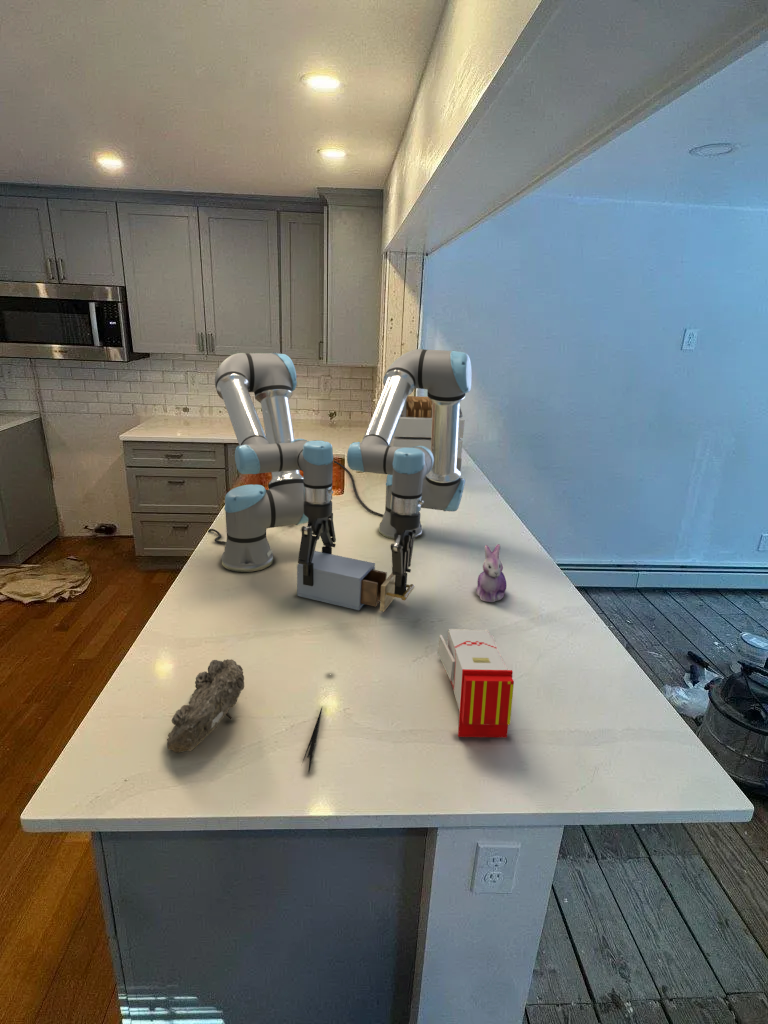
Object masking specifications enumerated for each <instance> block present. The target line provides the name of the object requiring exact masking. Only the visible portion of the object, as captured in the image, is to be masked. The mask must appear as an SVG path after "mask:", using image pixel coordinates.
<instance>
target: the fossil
mask: <svg viewBox="0 0 768 1024" xmlns="http://www.w3.org/2000/svg"><path fill="white" fill-rule="evenodd" d="M243 670H244V669H243V667H242V665H240V664H237V662H236V661H235V660H234V659H232V658H231V659H227V658H226V659H224V660H223V661H222V660H217V659H212V660H211V661H210V663H209V665H208V666H207V671H201V672H199V673H198V674H197V675H196V676H195V680H194V684H195V685H194V687H195V689H194V690H193V693H192V694H191V697H190V698H189V700H188V704H184V705H182V706H181V707H180V709H177V710H176V711H175V713H174V715H173V716H172V718H171V723H172V724H173V727H172V730H171V731H170V732H168V734H167V738H166V741H167V742H166V745H167V749H168V750H169V751H173V752H174V753H176V754H178V753H182V752H188V751H189V752H192V751H193V750H195V748H196V747H197V746H199V744H200V743H201V742H203V741H204V740H205V739H206V738H207V737H208V736H209V735H210V734H211V733H212V732H214V730H215V729H217V727H218V726H219V724H220V722H221V721H222V720H223V719H224V718H225V716H226V717H227V719H229V720H233V717H232V715H230V714H229V710H230V709H231V708H234V706H235V704H236V703H237V702H238V699H239V697H240V695H241V693H242V691H243V690H245V689H244V688H245V675H244V671H243Z"/></svg>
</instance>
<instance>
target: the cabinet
mask: <svg viewBox="0 0 768 1024" xmlns="http://www.w3.org/2000/svg"><path fill="white" fill-rule="evenodd" d="M312 563H313V586H308V585H303V564H299V563H297V564H296V582H297V583H296V593H297V594H296V595H297V597H300V598H304V599H309V600H313V601H318V602H320V603H321V602H322V603H326V604H330V605H335V606H338V607H342V608H348V609H351V610H355V611H360V610H361V609H362V608H363V606H364V605H365V604H362V603H361V580H362V579H363V578H364V577H365V576H366V575H367V574H368V573H369V572H370V571H371V570H372V569H373V570H376V563H375V562H371V561H367V560H362V559H358V558H357V559H356V558H351V557H346V556H342V555H338V554H333V553H332V554H328V553H323V552H322V551H319V550H315V551H314V555H313V559H312Z"/></svg>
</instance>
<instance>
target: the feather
mask: <svg viewBox="0 0 768 1024" xmlns="http://www.w3.org/2000/svg"><path fill="white" fill-rule="evenodd" d="M329 675H330V676H331V675H332V674H331V673H330V674H329ZM322 710H323V707H321V708H320V710H319V713H318V716H317V719H316V723H315V725H314V728H313V731H312V733H311V737H310V739H309V742H308V745H307V748H306V751H305V754H304V757H303V760H302V763H301V767H302V765H303V763H304V761H305V758H308V759H309V760H308V762H307V763H308V764H307V766H308V771H310V770H311V766H312V765H311V764H312V760H313V757H315V756H314V755H315V751H316V749H315V746H317V739H318V733H319V729H320V722H321V717H322V712H323V711H322ZM313 754H314V755H313ZM306 755H307V757H306Z"/></svg>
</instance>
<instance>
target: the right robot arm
mask: <svg viewBox="0 0 768 1024" xmlns="http://www.w3.org/2000/svg"><path fill="white" fill-rule="evenodd" d="M472 372H473V371H472V363H471V359H470V355H468V353H466V352H463V351H456V350H445V349H444V350H442V349H424V348H416V349H412V350H410V351H407V352H405V353H403V354H401V355H400V356H399V357H398V358H396V359H395V360H394V361H393V362H392V363H391V364H390V365H389V367H388V368H387V369H386V371H385V374H384V376H383V378H382V384H383V387H382V390H381V392H380V395H379V398H378V400H377V403H376V405H375V407H374V410H373V412H372V415H371V418H370V420H369V422H368V425H367V427H366V430H365V433H364V435H363V437H362V439H361V442H360V441H356V442H355V441H354V442H352V443H350V444H349V446H348V449H347V454H346V462H347V467H348V468H349V469H350V470H352V471H356V472H362V473H371V474H379V475H380V474H381V475H386V482H385V504H384V505H385V507H384V508H385V509H384V513H380V512H377V511H374V510H373V509H371V508H370V507H368V506H367V505H366V504H365V503H364V501H362V499H361V498H360V496H359V494H358V492H357V489H356V485H355V480H354V477H353V475H352V474H351V472H350V471H349V469H348V468H347V467H346V466H344V465H343V464H342V463H340V462H338V461H337V460H333V463H334V464H336V465H338V466H340V467H341V468H342V469H344V471H346V472H347V473H348V475H349V477H350V479H351V484H352V488H353V491H354V492H353V493H354V495H355V497H356V498H357V500H358V502H359V503H360V504H361V505H362V506H363V507H364V508H365V509H366V510H367V511H368V512H370V513H372V514H374V515H376V516H379V517H382V519H381V522H379V527H378V533H379V534H380V535H381V536H382V537H385V538H387V539H389V540H394V543H391V544H390V552H391V569H392V571H391V573H392V574H393V575H395V591H394V594H397V595H403V594H404V593H405V591H406V590H407V587H406V585H408V584H407V583H408V573H411V572H412V569H411V568H410V567H411V565H412V560H413V559H412V557H413V552H414V544H415V543H414V542H415V539H418V538H420V537H421V536H422V535H423V525H422V524H421V509H428V510H436V511H443V512H453V513H454V512H456V511H458V510H459V508H460V504H461V501H462V498H463V493H464V488H465V484H466V479H465V478H463V477H461V475H462V474H460V471H459V470H458V469H457V468H456V466H457V447H458V429H459V411H460V408H461V401H463V400H464V399H465V398H466V394H467V393H469V392H470V391H471V389H472V379H473V377H472V376H473V374H472ZM415 389H420V390H427V392H426V393H427V396H426V397H428V398H429V399H431V400H432V427H431V451H430V450H429V449H428V448H426V447H424V446H416V447H413V448H404V447H394V446H390V443H391V440H392V438H393V435H394V432H395V430H396V427H397V424H398V421H399V419H400V416H401V413H402V410H403V408H404V405H405V402H406V400H407V397H408V396H411V394H412V393H413V392H414V390H415Z"/></svg>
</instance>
